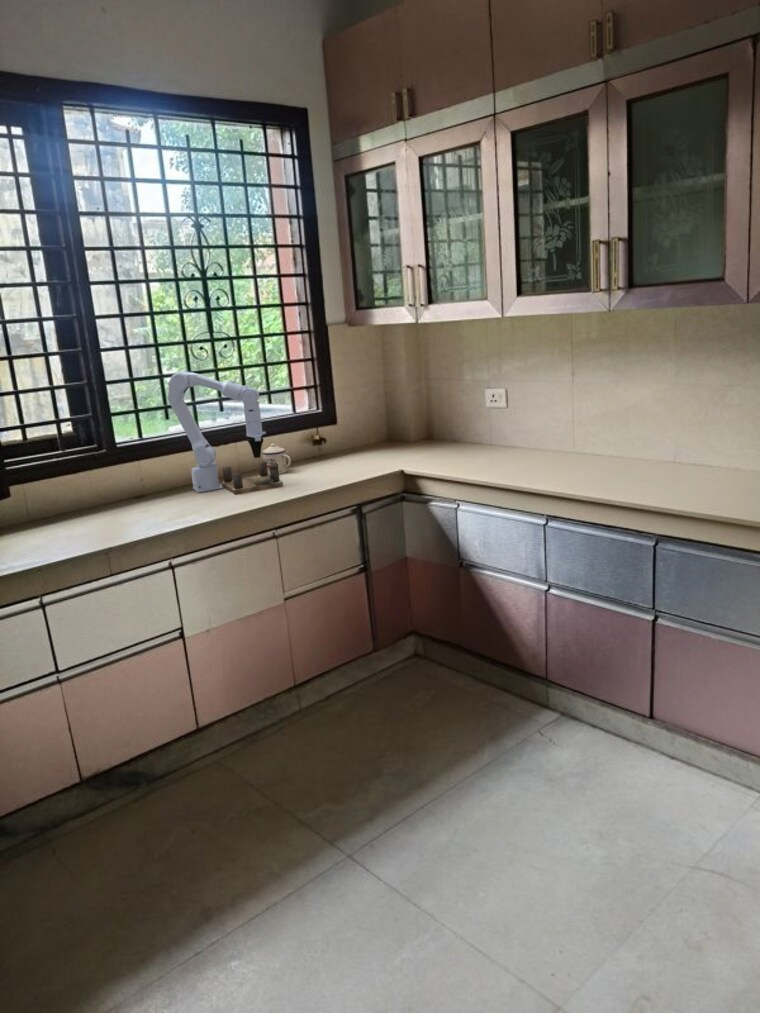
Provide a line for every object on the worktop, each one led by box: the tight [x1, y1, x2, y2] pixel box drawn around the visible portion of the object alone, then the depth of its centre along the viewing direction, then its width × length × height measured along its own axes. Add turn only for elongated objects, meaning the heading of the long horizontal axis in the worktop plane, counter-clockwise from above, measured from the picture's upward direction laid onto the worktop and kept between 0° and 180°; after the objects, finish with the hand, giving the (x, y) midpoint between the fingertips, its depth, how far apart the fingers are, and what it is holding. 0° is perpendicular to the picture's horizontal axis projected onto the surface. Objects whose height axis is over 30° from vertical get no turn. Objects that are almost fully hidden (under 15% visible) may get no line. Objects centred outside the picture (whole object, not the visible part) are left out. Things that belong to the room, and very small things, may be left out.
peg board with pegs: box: [221, 460, 284, 495], centre depth 288 cm, size 18×18×7 cm
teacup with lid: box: [262, 443, 292, 475], centre depth 308 cm, size 12×9×12 cm
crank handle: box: [254, 465, 281, 485], centre depth 283 cm, size 10×3×6 cm, turn 119°
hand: (257, 457), depth 288 cm, fingers closed
